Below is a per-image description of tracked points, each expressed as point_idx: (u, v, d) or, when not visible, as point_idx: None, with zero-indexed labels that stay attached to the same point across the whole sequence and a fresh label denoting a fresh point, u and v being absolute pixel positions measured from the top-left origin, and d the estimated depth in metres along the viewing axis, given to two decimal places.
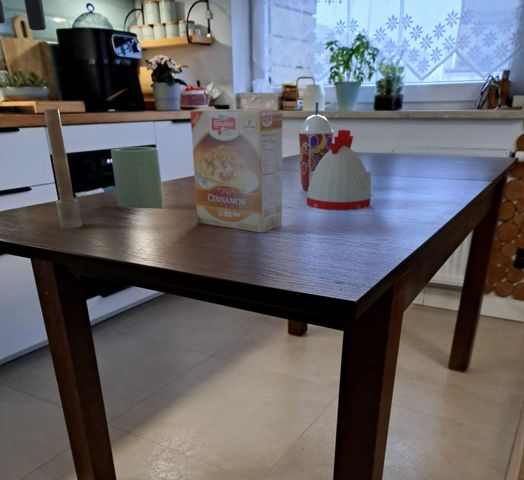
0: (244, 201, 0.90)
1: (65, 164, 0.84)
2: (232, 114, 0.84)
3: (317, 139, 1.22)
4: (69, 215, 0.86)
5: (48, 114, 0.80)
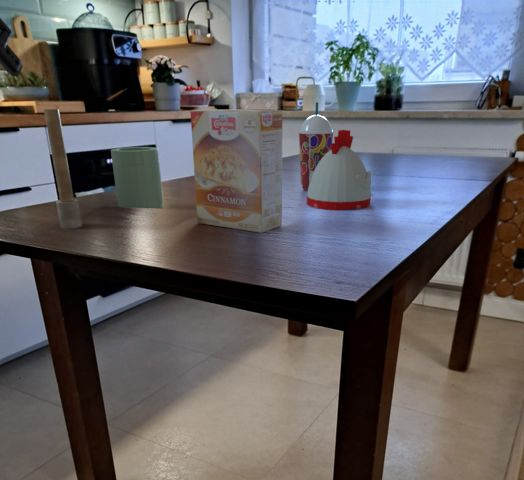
0: (244, 201, 0.90)
1: (65, 164, 0.84)
2: (232, 114, 0.84)
3: (317, 139, 1.22)
4: (69, 215, 0.86)
5: (48, 114, 0.80)
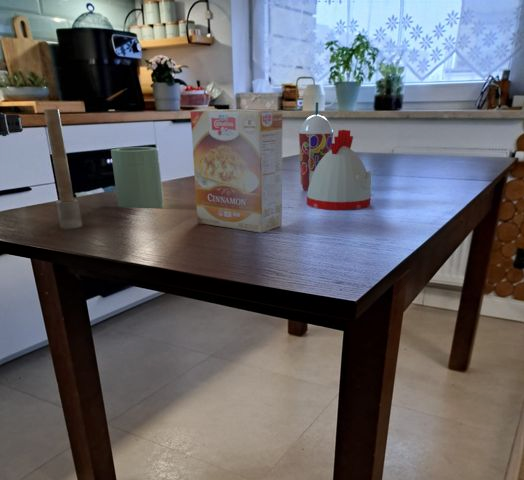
0: (244, 201, 0.90)
1: (65, 164, 0.84)
2: (232, 114, 0.84)
3: (317, 139, 1.22)
4: (69, 215, 0.86)
5: (48, 114, 0.80)
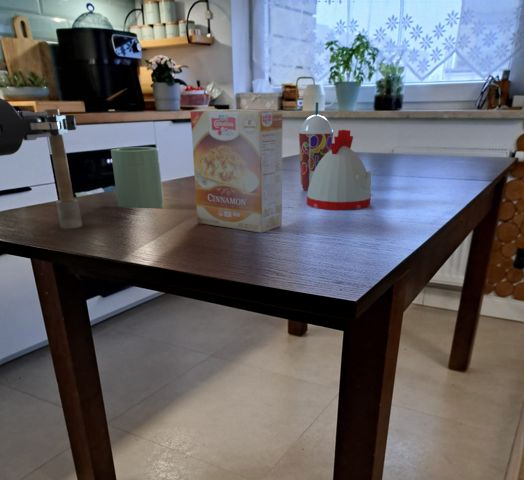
0: (244, 201, 0.90)
1: (65, 164, 0.84)
2: (232, 114, 0.84)
3: (317, 139, 1.22)
4: (69, 215, 0.86)
5: (48, 114, 0.80)
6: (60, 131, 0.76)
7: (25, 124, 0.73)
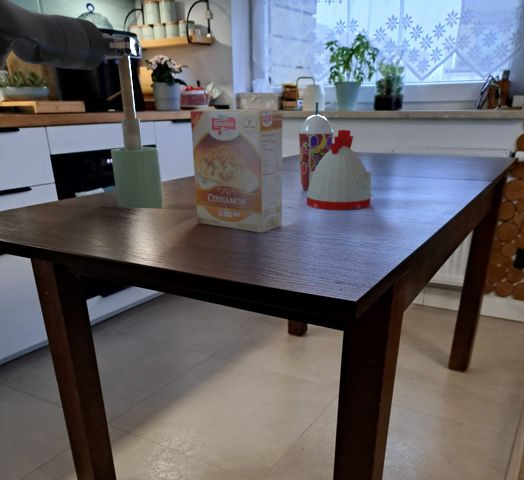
0: (244, 201, 0.90)
1: (130, 85, 1.00)
2: (232, 114, 0.84)
3: (317, 139, 1.22)
4: (132, 130, 1.02)
5: None
6: (132, 51, 0.92)
7: (106, 42, 0.89)
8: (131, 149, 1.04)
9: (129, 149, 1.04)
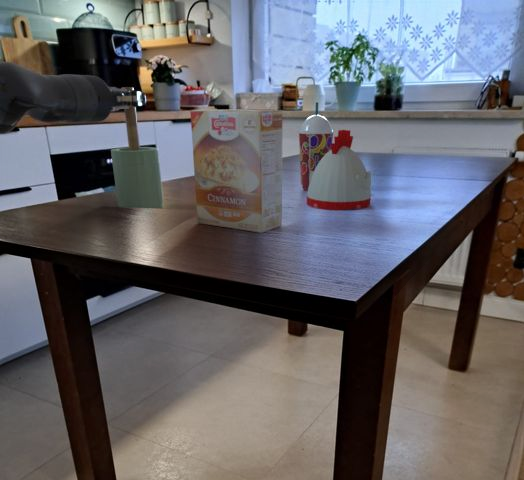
0: (244, 201, 0.90)
1: (136, 132, 1.04)
2: (232, 114, 0.84)
3: (317, 139, 1.22)
4: None
5: None
6: (139, 103, 0.96)
7: (114, 96, 0.92)
8: None
9: None
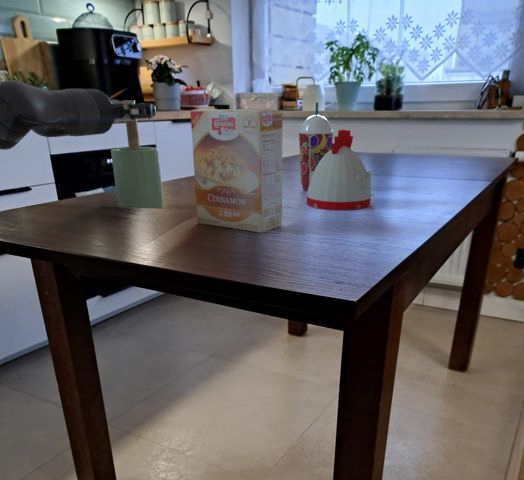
0: (244, 201, 0.90)
1: (138, 144, 1.05)
2: (232, 114, 0.84)
3: (317, 139, 1.22)
4: None
5: None
6: (138, 116, 0.95)
7: (115, 110, 0.94)
8: None
9: None
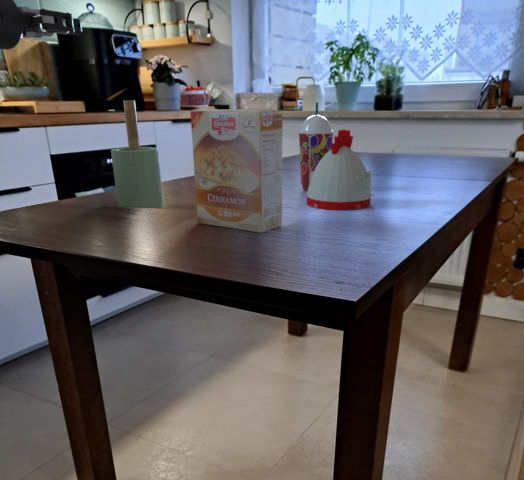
0: (244, 201, 0.90)
1: (138, 144, 1.05)
2: (232, 114, 0.84)
3: (317, 139, 1.22)
4: None
5: (127, 104, 1.01)
6: (53, 27, 0.77)
7: (24, 17, 0.76)
8: None
9: None
